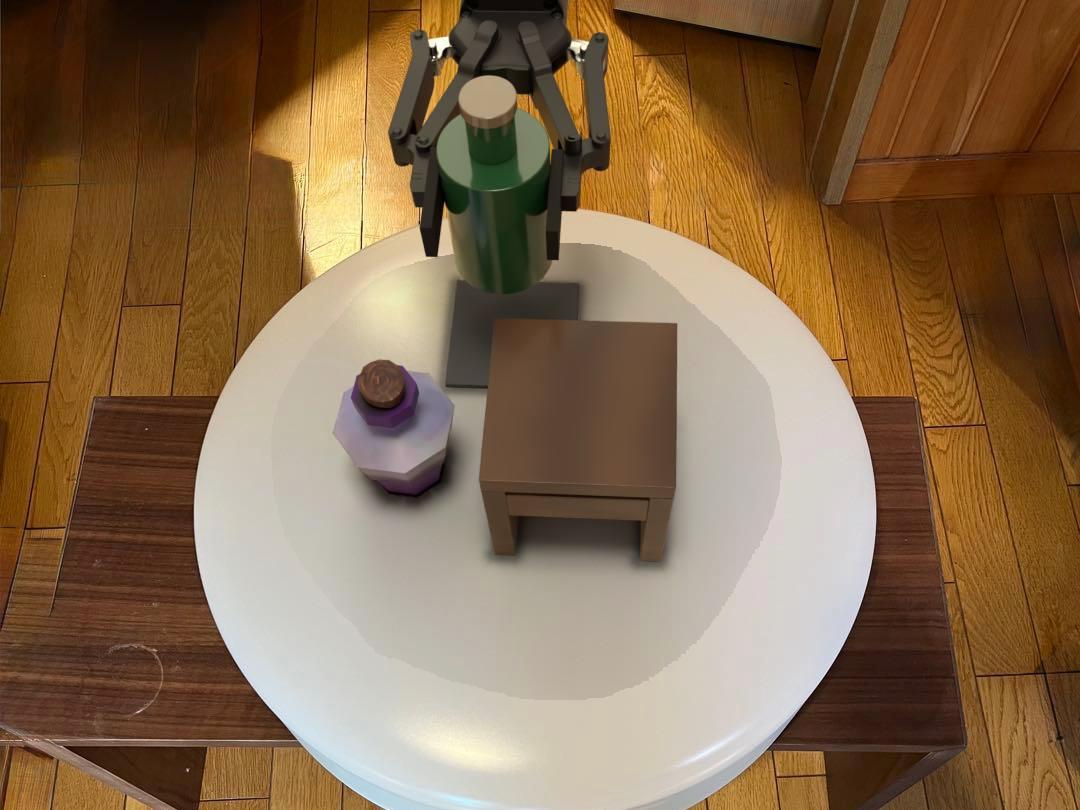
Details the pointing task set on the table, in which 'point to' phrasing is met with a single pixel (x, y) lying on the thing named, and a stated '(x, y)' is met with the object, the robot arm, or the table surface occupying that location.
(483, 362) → the felt mat
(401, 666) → the table surface
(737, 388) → the table surface
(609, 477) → the walnut table
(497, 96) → the green bottle
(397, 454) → the potion bottle
